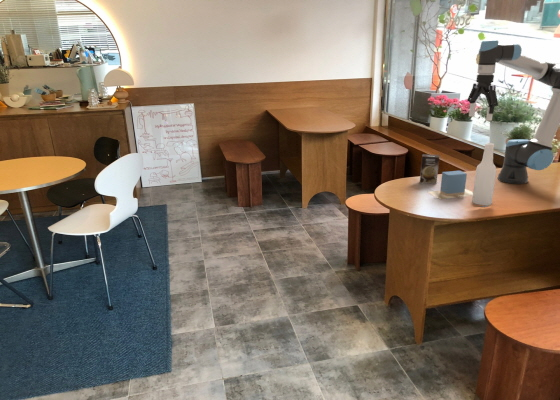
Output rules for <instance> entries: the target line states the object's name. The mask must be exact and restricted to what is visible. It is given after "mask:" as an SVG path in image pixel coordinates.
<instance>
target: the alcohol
mask: <svg viewBox="0 0 560 400" xmlns="http://www.w3.org/2000/svg"><path fill="white" fill-rule="evenodd" d="M494 148H495V143H493V142H492V143H491V142H486V143H485V144H484V150H483V155H482V160H481V162H480V163H479V164H477V166H476V169H475V174H474V175H475V176H474V183H473V184H474V185H473V191H472V192H473V196H472V199H471V200H472V201H471V202H472V203H473V204H475V205H479V206H478V207H479V208H489V207H490V206H491V205H492V203H493V197H494V190H495V183H496V177H497V167H496V165H495V164H494Z"/></svg>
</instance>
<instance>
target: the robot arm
mask: <svg viewBox="0 0 560 400" xmlns="http://www.w3.org/2000/svg"><path fill="white" fill-rule="evenodd" d="M478 56H479V57H478V64H477V65H478V66H477V75H476V81H475V83H473V84H472V88H471V90H470V93H469V95H468V97H467V100H466V101H467V102H469V107H468V109H469V111H468V117H475V116H476V115H475V114H476V105H477V102H476V101H477V100H478V98H479V97H480V96H481V95H484V97H485V99H486V102H487V104H488V106H487V108H486V110H487V111H486V117H485V118H486V119H485V121H486V122H490V121H493V115H494V110H495V107H498V106H499V102H498V96H497V92H496V87H497V86H496V85H492V83H493V82H494V79H495V75H494V74H495V71H496V64H499V65H502V66H505V67H507V68H509V69H511V70H515V71H517V72H520V73H523V74H525V75H528V76H530V77H532V79H533V80H535V81H538V82H539V83H542V84H544V85H547V86H549V87H552V88H551V91H552V95H551V98H550V99H549V103H548V105H547V107H546V109H545V111H544V113H543V115H542V118H541V120H540V123H539V125H538V126H537V127H538V128H537V129H536V132H535V134H534V137H532V139H522V138H521V139H509V140H508V141H506V145H505V149H504V151H505V152H504V158H503V163H502V164H503V165H502V167H501V169H500V171H499V173H498V177H497V179H498V181H500V182H503V183H505V184H506V183H507V184H514V185H515V184H516V185H520V184H522V185H524V184H526V183H528V181H529V176H528V170H527V168H528V169H530V170H535V171H542V170H543V171H544V170H545V169H547V168H548V167H550V165H551V164H552V163H553V161H554V157H555V156H554V152H553V149H554V146H553V145H552V143H553V141H554V138H555V136H556V133H557V131H558V129H559V127H560V63H551V62H546V61H538V60H535V59H533V58H530V57H528V56H526V55H523V54H522V47H521V45H520V44H518V43H499V40H498V39H485V40H482V41H481V42H480V47H479V50H478Z"/></svg>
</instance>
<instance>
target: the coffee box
mask: <svg viewBox="0 0 560 400" xmlns="http://www.w3.org/2000/svg"><path fill="white" fill-rule="evenodd" d="M421 156H422V157H421V164H420V165H421V166H420V177H419V184H437V183H438V173H439V165H440V163H439V162H440V155H439V154H430V153H429V154H427V153H425V154H424V153H423V154H422V155H421Z"/></svg>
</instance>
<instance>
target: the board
mask: <svg viewBox="0 0 560 400" xmlns="http://www.w3.org/2000/svg"><path fill="white" fill-rule="evenodd" d="M427 193H428V194H430V195H431V196H433V197H435V198H437V199H438V200H444V199H446V200H447V199H453V198H454V199H456V198H466V197H473V191H472V190H469V189H468V188H466V187H465V193H464V194H463V195H454V196H445V195H444V194H442V193H440V190H431V191H427Z"/></svg>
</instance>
